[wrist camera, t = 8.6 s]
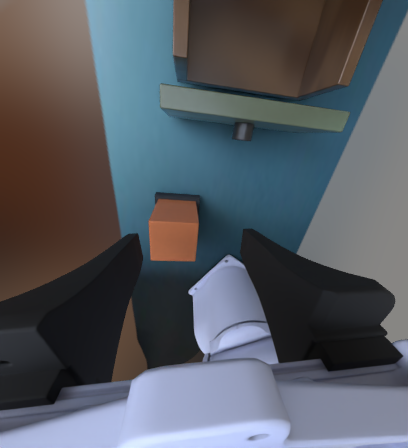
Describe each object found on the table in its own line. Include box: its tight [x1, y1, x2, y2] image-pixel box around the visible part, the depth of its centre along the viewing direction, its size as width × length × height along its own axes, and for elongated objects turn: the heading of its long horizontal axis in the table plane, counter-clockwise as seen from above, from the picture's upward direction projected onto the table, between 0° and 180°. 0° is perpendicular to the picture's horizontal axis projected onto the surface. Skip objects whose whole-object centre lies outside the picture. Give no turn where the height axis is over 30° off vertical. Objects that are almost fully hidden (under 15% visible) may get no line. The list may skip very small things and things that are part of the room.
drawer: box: [160, 0, 383, 141], centre depth 12 cm, size 11×12×6 cm
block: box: [149, 199, 199, 261], centre depth 17 cm, size 4×4×5 cm
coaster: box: [155, 192, 200, 216], centre depth 20 cm, size 5×5×1 cm
